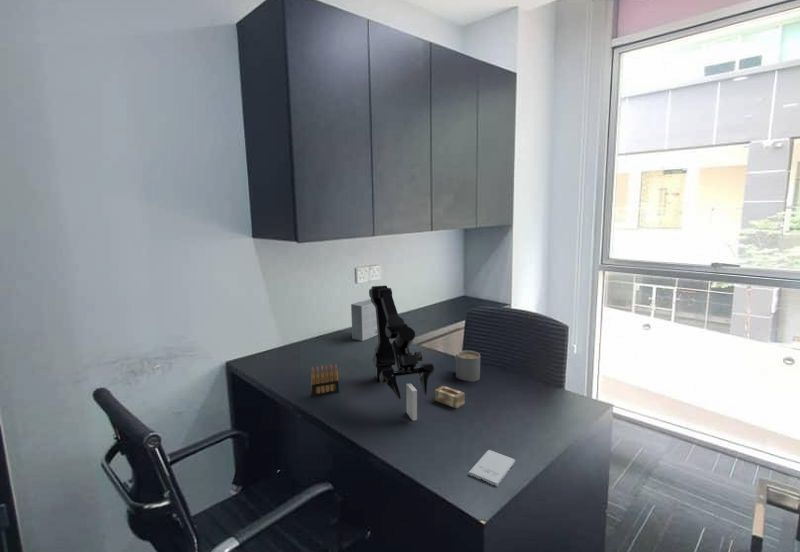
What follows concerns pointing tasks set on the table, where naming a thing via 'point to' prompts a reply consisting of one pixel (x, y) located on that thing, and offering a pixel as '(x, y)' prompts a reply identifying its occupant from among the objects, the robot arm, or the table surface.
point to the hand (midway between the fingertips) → (412, 396)
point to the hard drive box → (363, 320)
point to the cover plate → (411, 401)
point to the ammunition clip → (324, 381)
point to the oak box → (450, 396)
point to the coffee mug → (468, 365)
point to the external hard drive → (492, 467)
